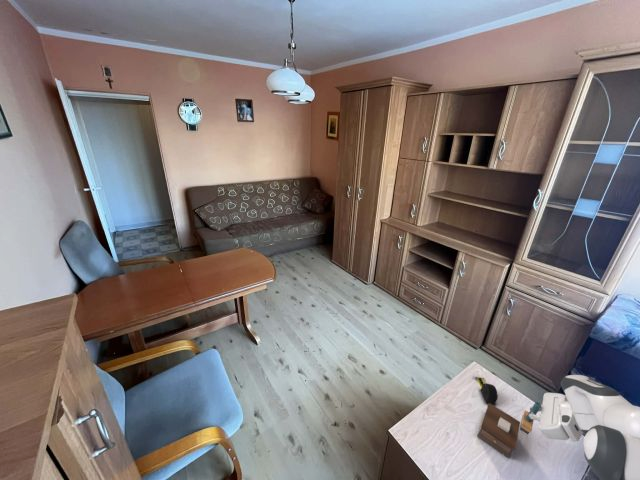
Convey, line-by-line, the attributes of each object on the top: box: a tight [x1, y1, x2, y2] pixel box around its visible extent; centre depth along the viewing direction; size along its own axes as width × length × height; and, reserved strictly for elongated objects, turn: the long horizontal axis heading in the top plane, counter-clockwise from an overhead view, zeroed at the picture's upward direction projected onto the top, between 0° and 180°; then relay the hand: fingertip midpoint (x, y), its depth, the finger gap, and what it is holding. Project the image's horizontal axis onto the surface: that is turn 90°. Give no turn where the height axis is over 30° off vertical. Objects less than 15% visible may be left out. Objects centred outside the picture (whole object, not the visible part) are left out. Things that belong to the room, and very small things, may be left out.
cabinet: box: [476, 403, 521, 458], centre depth 118 cm, size 15×13×8 cm
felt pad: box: [498, 417, 511, 432], centre depth 116 cm, size 4×4×2 cm
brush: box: [519, 401, 542, 435], centre depth 107 cm, size 8×3×13 cm, turn 138°
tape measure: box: [475, 376, 499, 406], centre depth 137 cm, size 15×4×8 cm, turn 171°
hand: (530, 412), depth 107 cm, fingers closed on brush, 2 cm apart
